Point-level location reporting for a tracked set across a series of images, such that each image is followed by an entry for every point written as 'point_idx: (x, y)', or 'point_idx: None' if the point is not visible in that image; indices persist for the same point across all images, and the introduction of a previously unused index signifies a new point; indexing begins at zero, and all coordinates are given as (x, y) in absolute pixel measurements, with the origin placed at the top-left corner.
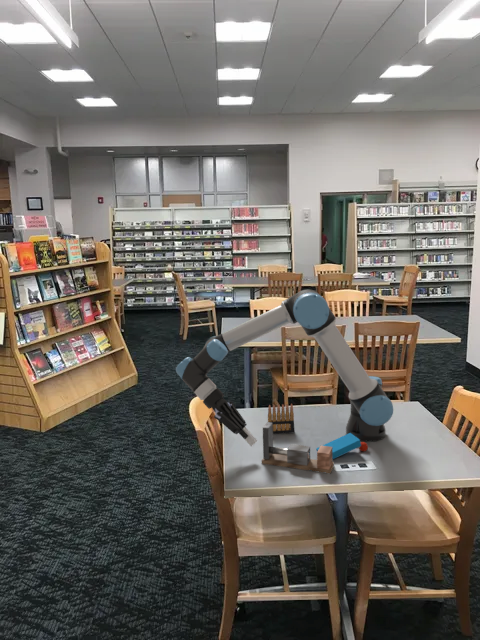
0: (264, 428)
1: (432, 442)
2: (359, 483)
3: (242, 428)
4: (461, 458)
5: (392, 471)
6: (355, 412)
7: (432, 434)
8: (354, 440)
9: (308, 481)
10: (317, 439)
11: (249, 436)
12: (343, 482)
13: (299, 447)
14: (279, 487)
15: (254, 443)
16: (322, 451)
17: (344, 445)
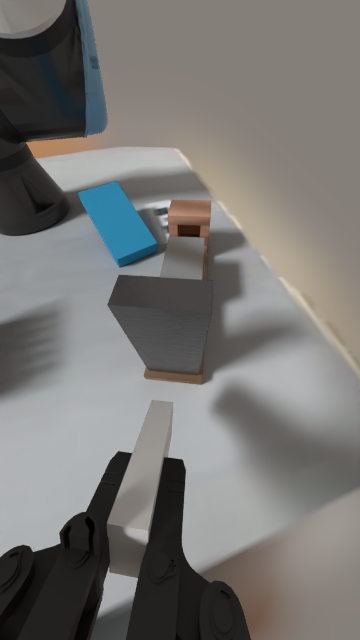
0: (210, 305)
1: (81, 164)
2: (226, 211)
3: (157, 544)
4: (128, 151)
5: (175, 187)
6: (1, 157)
7: (54, 164)
8: (114, 189)
9: (253, 266)
10: (41, 275)
11: (164, 447)
12: (232, 225)
13: (181, 255)
14: (311, 311)
15: (172, 412)
16: (202, 210)
17: (127, 206)
